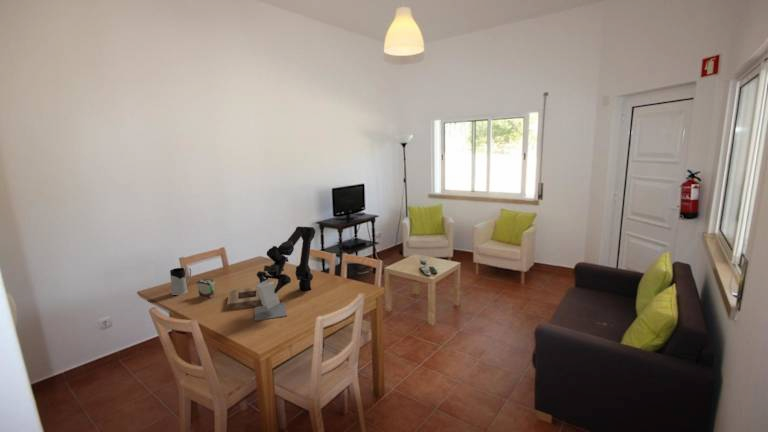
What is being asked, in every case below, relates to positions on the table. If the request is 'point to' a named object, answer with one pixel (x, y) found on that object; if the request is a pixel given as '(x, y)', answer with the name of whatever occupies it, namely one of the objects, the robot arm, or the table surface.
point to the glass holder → (179, 281)
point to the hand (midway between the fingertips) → (267, 291)
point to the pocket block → (245, 302)
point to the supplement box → (267, 294)
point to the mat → (270, 312)
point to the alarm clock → (206, 288)
